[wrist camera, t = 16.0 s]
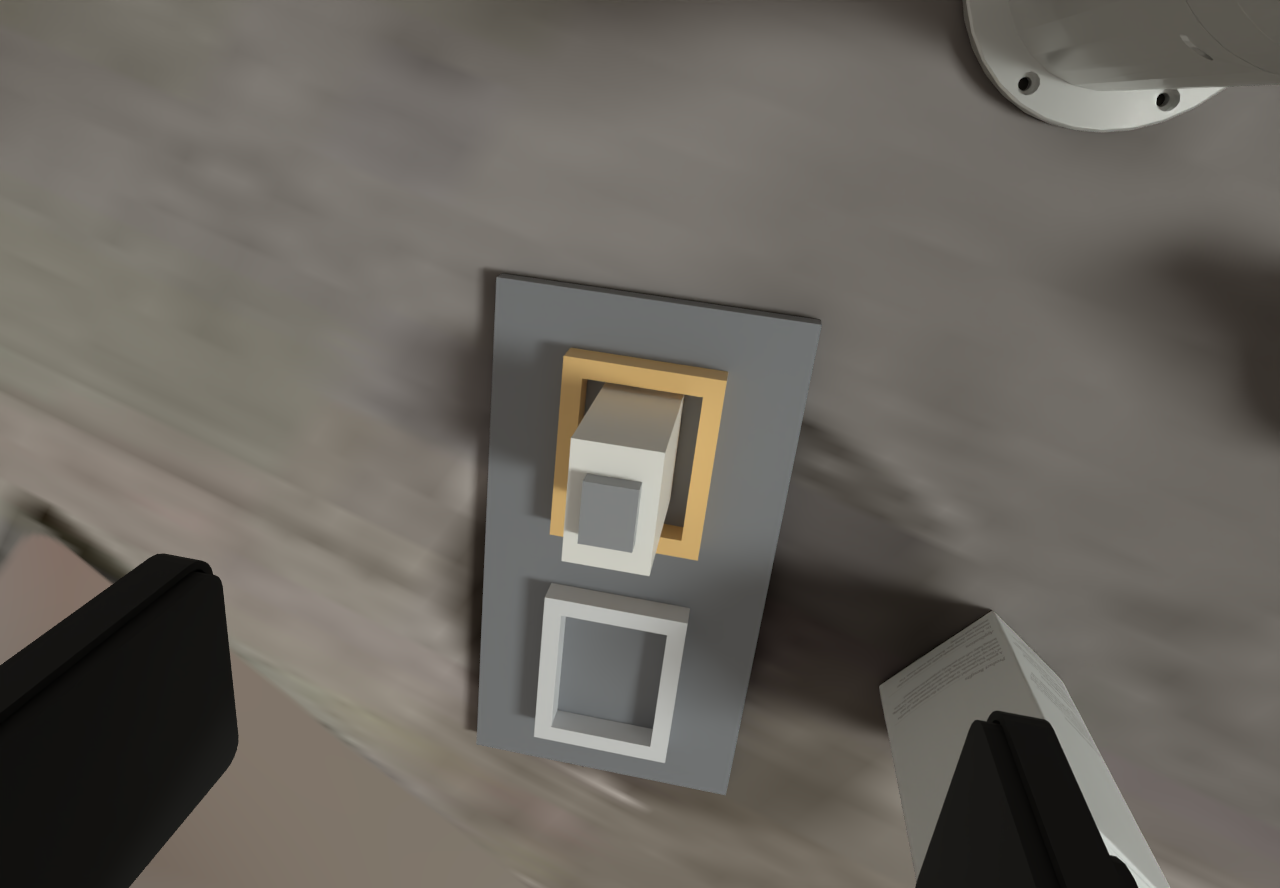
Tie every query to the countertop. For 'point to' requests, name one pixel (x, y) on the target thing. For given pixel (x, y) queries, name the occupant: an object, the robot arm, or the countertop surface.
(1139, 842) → the skincare box
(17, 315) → the countertop surface
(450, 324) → the countertop surface
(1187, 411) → the countertop surface
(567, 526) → the plug
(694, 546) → the socket panel
